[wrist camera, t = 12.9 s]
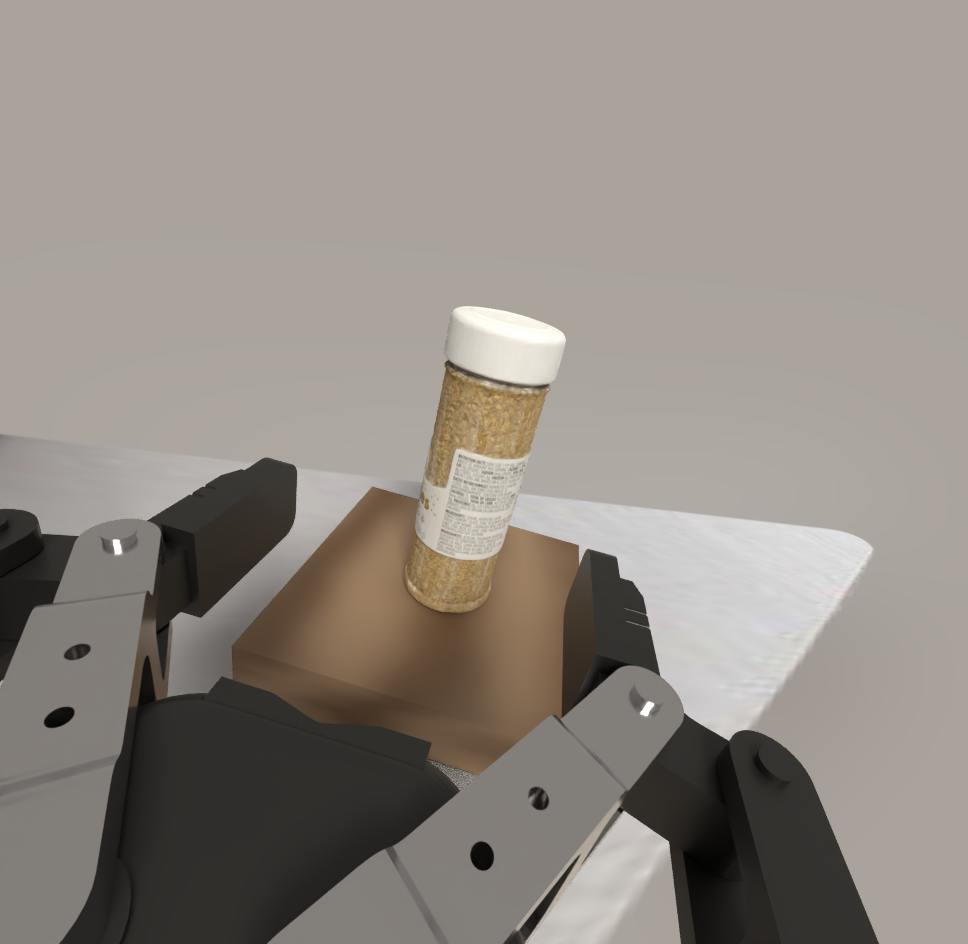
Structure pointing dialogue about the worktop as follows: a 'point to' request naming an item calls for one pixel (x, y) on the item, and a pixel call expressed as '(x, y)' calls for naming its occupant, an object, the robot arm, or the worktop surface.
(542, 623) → the walnut base
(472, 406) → the spice jar
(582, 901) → the worktop surface
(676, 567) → the worktop surface
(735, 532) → the worktop surface
